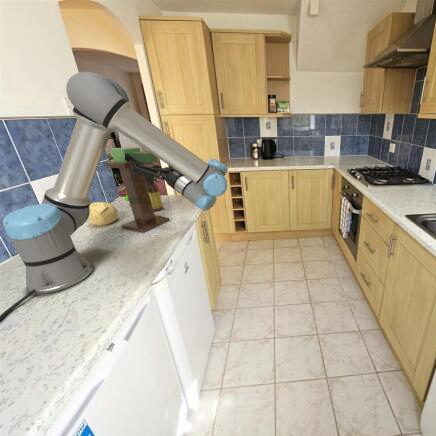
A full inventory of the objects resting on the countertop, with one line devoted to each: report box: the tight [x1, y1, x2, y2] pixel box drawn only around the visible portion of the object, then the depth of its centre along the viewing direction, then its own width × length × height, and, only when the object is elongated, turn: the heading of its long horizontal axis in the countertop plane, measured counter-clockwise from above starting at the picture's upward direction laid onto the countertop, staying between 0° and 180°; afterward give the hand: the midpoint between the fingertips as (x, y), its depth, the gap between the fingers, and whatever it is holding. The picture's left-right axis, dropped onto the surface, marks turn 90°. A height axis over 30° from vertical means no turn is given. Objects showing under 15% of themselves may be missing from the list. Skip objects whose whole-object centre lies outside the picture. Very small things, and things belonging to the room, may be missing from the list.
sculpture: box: [87, 201, 119, 227], centre depth 116 cm, size 12×12×11 cm
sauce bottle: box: [145, 177, 164, 212], centre depth 129 cm, size 6×6×20 cm
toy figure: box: [110, 146, 158, 164], centre depth 101 cm, size 7×23×5 cm, turn 68°
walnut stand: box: [105, 160, 170, 233], centre depth 109 cm, size 14×14×30 cm
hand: (141, 153), depth 99 cm, fingers open, 13 cm apart
